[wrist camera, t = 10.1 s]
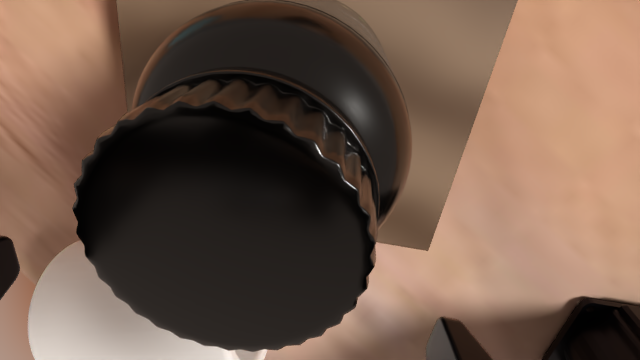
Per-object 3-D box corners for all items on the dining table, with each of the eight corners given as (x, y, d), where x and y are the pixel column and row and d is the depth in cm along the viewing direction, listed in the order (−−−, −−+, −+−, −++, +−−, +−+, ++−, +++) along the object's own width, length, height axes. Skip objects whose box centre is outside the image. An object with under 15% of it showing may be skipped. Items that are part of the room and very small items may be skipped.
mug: (101, 212, 23) (-9, 310, 16) (252, 195, 22) (204, 295, 15) (167, 343, 29) (106, 460, 22) (293, 337, 27) (271, 460, 20)
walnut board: (421, 229, 22) (428, 250, 20) (154, 184, 22) (136, 201, 20) (534, -107, 14) (560, -120, 13) (127, -173, 14) (96, -195, 13)
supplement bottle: (209, 14, 15) (-107, 77, 5) (373, -27, 14) (426, -63, 4) (257, 161, 18) (125, 399, 8) (396, 137, 17) (461, 378, 7)
